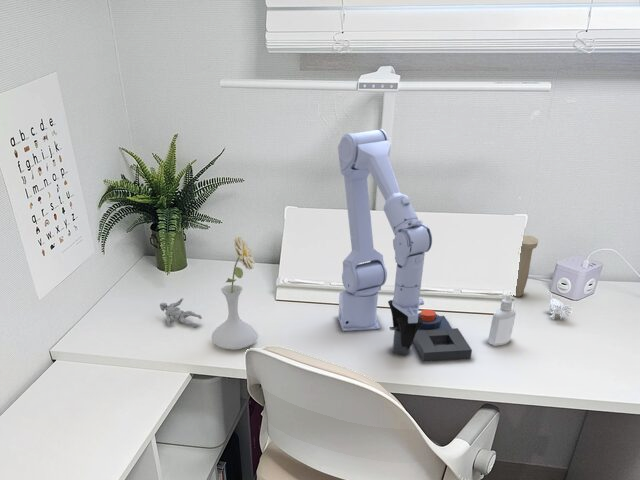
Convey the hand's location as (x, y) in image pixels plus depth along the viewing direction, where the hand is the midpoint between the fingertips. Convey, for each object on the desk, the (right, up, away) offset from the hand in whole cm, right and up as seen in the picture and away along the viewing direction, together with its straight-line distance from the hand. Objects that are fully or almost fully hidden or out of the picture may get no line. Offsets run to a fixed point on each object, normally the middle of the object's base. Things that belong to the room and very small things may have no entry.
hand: (402, 338), depth 158 cm
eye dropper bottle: (+24, 0, +5) cm, 25 cm away
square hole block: (+10, -2, +3) cm, 10 cm away
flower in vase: (-39, +1, +8) cm, 40 cm away
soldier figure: (-54, +8, +17) cm, 57 cm away
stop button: (+8, +7, +10) cm, 14 cm away
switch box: (+8, +5, +11) cm, 15 cm away
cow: (+42, +9, +16) cm, 46 cm away
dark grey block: (0, -3, +2) cm, 3 cm away
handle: (+36, +17, +26) cm, 48 cm away
